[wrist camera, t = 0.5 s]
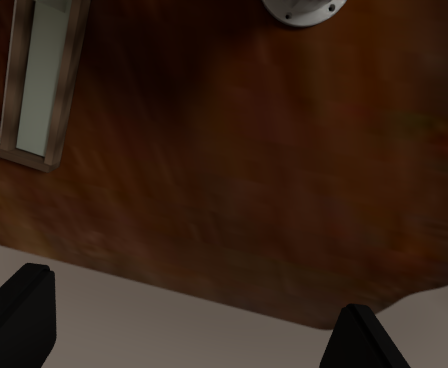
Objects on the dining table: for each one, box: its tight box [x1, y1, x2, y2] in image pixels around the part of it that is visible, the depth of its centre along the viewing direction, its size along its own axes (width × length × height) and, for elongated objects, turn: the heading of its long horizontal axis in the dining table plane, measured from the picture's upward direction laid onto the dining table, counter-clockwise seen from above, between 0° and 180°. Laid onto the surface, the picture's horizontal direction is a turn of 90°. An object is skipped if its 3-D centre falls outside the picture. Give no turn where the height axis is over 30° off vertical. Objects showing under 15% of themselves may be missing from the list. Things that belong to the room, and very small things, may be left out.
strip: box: [16, 0, 72, 157], centre depth 35 cm, size 22×4×7 cm, turn 159°
